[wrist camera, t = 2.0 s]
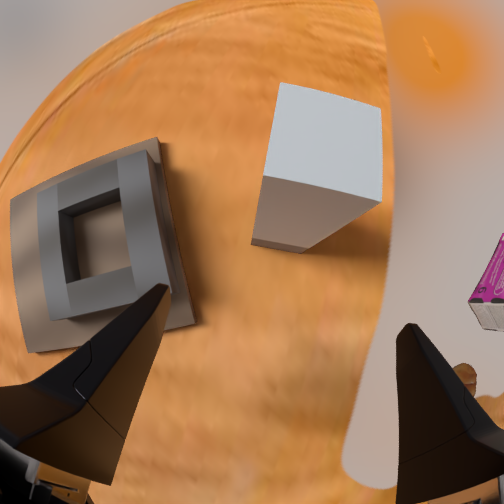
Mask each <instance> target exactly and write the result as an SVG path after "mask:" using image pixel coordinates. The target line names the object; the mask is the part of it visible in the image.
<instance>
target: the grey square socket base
mask: <svg viewBox="0 0 504 504" xmlns="http://www.w3.org/2000/svg"><path fill="white" fill-rule="evenodd" d="M10 237H11V256H12V268H13V277H14V285H15V293H16V299H17V305H18V311H19V316H20V321H21V326H22V331H23V335H24V339H25V343H26V347H27V351H28V353H34V352H42V351H49V350H57V349H63V348H70V347H77V346H82V345H83V344H84V343H85V342H87V341H88V340H90V338H91V337H93V336H94V335H95V334H96V333H97V332H99V331H100V330H101V329H102V328H103V327H105V326H106V325H107V324H108V323H109V322H111V321H112V320H113V319H114V318H115V317H117V316H118V315H119V314H120V313H121V312H123V311H124V310H125V309H126V308H128V307H129V306H130V305H131V304H132V303H134V302H135V301H136V300H137V299H139V298H140V297H141V296H142V295H144V294H145V293H146V292H147V291H149V290H150V289H151V288H152V287H154V286H155V285H156V284H158V283H162V284H167V285H169V286H170V294H171V306H170V310H169V313H168V317H167V321H166V324H165V328H164V330H168V329H173V328H177V327H182V326H186V325H191V324H195V323H196V322H197V320H196V316H195V312H194V308H193V305H192V301H191V297H190V293H189V289H188V285H187V281H186V276H185V272H184V268H183V264H182V259H181V255H180V250H179V246H178V241H177V236H176V232H175V227H174V222H173V217H172V212H171V207H170V201H169V196H168V190H167V185H166V179H165V173H164V167H163V161H162V154H161V148H160V142H159V140H158V138H157V137H155V138H152V139H148V140H145V141H142V142H139V143H136V144H133V145H131V146H128V147H125V148H122V149H119V150H117V151H114V152H111V153H109V154H106V155H103V156H101V157H98V158H96V159H93V160H91V161H88V162H86V163H84V164H81V165H79V166H77V167H74V168H72V169H70V170H68V171H65V172H63V173H61V174H59V175H57V176H55V177H53V178H51V179H48V180H46V181H44V182H42V183H40V184H38V185H36V186H35V187H33V188H31V189H29V190H27V191H25V192H23V193H21V194H20V195H18V196H16V197H14V198H12V199H11V200H10Z"/></svg>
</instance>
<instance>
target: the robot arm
mask: <svg viewBox="0 0 504 504" xmlns="http://www.w3.org/2000/svg"><path fill="white" fill-rule="evenodd" d="M170 306H171V294H170V286H169V285H167V284H162V283H158V284H156V285H155V286H154V287H152V288H151V289H150V290H149V291H147V292H146V293H145V294H144V295H142V296H141V297H140V298H139V299H137V300H136V301H135V302H134V303H132V304H131V305H130V306H129V307H128V308H126V309H125V310H124V311H123V312H121V313H120V314H119V315H118V316H117V317H115V318H114V319H113V320H112V321H111V322H109V323H108V324H107V325H106V326H105V327H103V328H102V329H101V330H100V331H99V332H97V333H96V334H95V335H94V336H93V337H91V338H90V340H88V341H87V342H85V343H84V344H83V345H82V346H81V347H79V348H78V349H77V350H76V351H75V352H73V353H72V354H71V355H69V356H68V357H67V358H65V359H64V360H62V361H61V362H60V363H58V364H57V365H55V366H54V367H52V368H51V369H49V370H48V371H47V372H45V373H44V374H42V375H41V376H39V377H38V378H36V379H35V380H33V381H31V382H28V383H25V384H21V385H13V386H5V387H0V504H94V503H93V501H92V499H91V498H90V496H89V494H88V490H89V486H90V483H91V481H95V482H98V483H102V484H105V485H109V486H111V484H112V480H113V477H114V474H115V471H116V467H117V464H118V461H119V458H120V455H121V452H122V448H123V445H124V442H125V440H124V439H126V436H127V433H128V430H129V427H130V424H131V421H132V418H133V416H134V413H135V410H136V407H137V404H138V402H139V399H140V396H141V393H142V391H143V388H144V385H145V382H146V380H147V377H148V374H149V372H150V369H151V367H152V364H153V361H154V359H155V356H156V354H157V351H158V348H159V346H160V343H161V339H162V336H163V332H164V328H165V324H166V321H167V317H168V313H169V310H170ZM396 378H397V392H398V411H399V465H398V482H397V494H396V504H416V503H421V502H425V501H428V504H504V430H503V429H501V428H499V427H498V426H497V425H496V424H495V423H494V422H493V421H492V419H491V418H490V417H489V416H488V414H487V413H486V412H485V411H484V410H483V408H482V407H481V406H480V405H479V403H478V402H477V401H476V400H475V398H474V397H473V396H472V394H471V393H470V392H469V390H468V389H467V387H466V386H464V383H463V382H462V381H461V379H460V378H459V377H458V375H457V374H456V373H455V371H454V370H453V369H452V367H451V366H450V365H449V364H448V362H447V361H446V360H445V359H444V357H443V356H442V354H441V353H440V352H439V351H438V349H437V348H436V347H435V346H434V344H433V343H432V342H431V341H430V339H429V338H428V337H427V336H426V335H425V333H424V332H423V331H422V330H421V329H420V327H419V326H418V325H417V324H412V323H408V324H406V325H405V327H404V328H403V329H402V330H401V332H400V333H399V334H398V336H397V339H396Z"/></svg>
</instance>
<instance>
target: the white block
mask: <svg viewBox="0 0 504 504" xmlns="http://www.w3.org/2000/svg"><path fill="white" fill-rule="evenodd" d="M381 202H382V124H381V109H380V108H377V107H374V106H371V105H368V104H365V103H362V102H359V101H356V100H352V99H349V98H345V97H342V96H338V95H335V94H331V93H327V92H323V91H319V90H315V89H310V88H306V87H301V86H297V85H292V84H287V83H281V82H280V87H279V92H278V98H277V103H276V109H275V114H274V119H273V125H272V130H271V136H270V141H269V146H268V152H267V157H266V163H265V168H264V174H263V179H262V185H261V190H260V196H259V202H258V207H257V213H256V219H255V224H254V230H253V235H252V241H251V245H256V246H261V247H267V248H272V249H278V250H283V251H289V252H294V253H300V254H301V253H302V252H304V251H306V250H307V249H309V248H310V247H312V246H314V245H315V244H317V243H318V242H320V241H322V240H323V239H325V238H326V237H328V236H330V235H331V234H333V233H334V232H336V231H337V230H339V229H341V228H342V227H344V226H345V225H347V224H348V223H350V222H352V221H353V220H355V219H356V218H358V217H359V216H361V215H362V214H364V213H365V212H367V211H369V210H370V209H372V208H373V207H375V206H376V205H378V204H379V203H381Z"/></svg>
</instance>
